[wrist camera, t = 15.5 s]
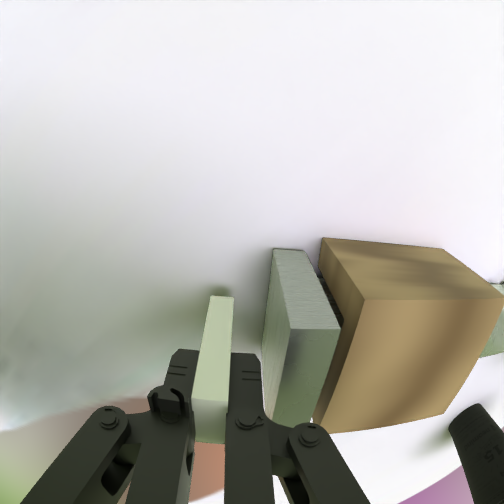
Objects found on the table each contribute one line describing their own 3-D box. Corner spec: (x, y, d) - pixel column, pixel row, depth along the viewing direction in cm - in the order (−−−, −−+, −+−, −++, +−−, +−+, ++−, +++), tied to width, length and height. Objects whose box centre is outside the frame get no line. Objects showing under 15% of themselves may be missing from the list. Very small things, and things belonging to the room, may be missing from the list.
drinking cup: (493, 405, 23) (551, 513, 5) (446, 442, 25) (492, 555, 7) (486, 385, 21) (560, 516, 3) (431, 429, 23) (487, 567, 4)
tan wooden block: (299, 355, 18) (315, 434, 12) (322, 237, 15) (365, 299, 9) (406, 351, 18) (443, 413, 12) (443, 249, 15) (506, 297, 9)
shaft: (261, 348, 17) (266, 440, 11) (273, 249, 15) (290, 328, 9) (476, 338, 18) (518, 390, 12) (505, 266, 16) (562, 310, 9)
